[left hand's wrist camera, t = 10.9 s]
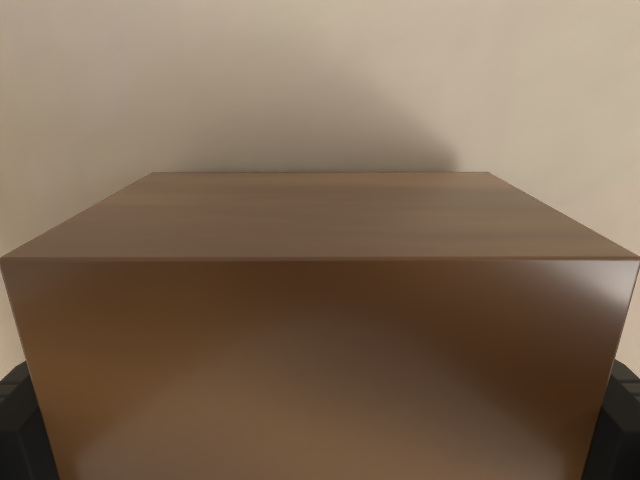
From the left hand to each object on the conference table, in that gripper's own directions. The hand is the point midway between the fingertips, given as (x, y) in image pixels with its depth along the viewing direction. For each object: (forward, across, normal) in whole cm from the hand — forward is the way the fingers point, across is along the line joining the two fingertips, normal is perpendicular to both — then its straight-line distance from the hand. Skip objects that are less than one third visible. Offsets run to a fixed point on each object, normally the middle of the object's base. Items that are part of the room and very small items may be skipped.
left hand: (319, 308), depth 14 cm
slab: (+1, 0, -35) cm, 35 cm away
